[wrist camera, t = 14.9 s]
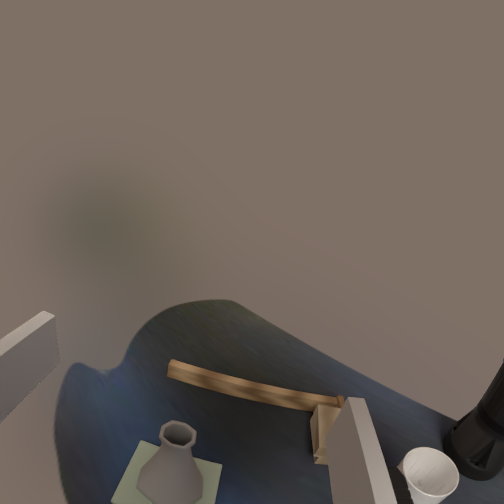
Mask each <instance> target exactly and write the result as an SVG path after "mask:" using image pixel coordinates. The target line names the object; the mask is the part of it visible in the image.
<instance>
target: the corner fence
mask: <svg viewBox="0 0 504 504" xmlns="http://www.w3.org/2000/svg"><path fill="white" fill-rule="evenodd" d="M167 377H170V378H173V379H176V380H179V381H182V382H186V383H189V384H192V385H196V386H199V387H202V388H206V389H210V390H213V391H217V392H221V393H224V394H228V395H232V396H236V397H240V398H245V399H249V400H253V401H258V402H263V403H267V404H272V405H277V406H282V407H288V408H294V409H299V410H305V411H312V412H314V411H315V409H316V407H317V405H318V404H319V405H324V406H330V407H335V408H341V409H342V407H343V405H344V404H345V402H344V398H343V396H339V395H337V397H330V396H323V395H317V394H311V393H305V392H300V391H294V390H289V389H284V388H279V387H274V386H270V385H265V384H261V383H256V382H252V381H248V380H244V379H240V378H236V377H232V376H228V375H224V374H220V373H217V372H213V371H209V370H206V369H202V368H199V367H196V366H192V365H189V364H186V363H183V362H179V361H176V360H173V359H171V361H170V363H169V365H168V373H167Z"/></svg>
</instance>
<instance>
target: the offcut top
mask: <svg viewBox="0 0 504 504" xmlns="http://www.w3.org/2000/svg"><path fill="white" fill-rule="evenodd" d="M340 411H341V408H335V407H330V406H324V405H319V404H318V405H317V407H316V409H315V411H314V413H313V456H316V457H323V458H327V452H326V445H325V437H326V435H327V433H328V432H329V430H330V428H331V427H332V425H333V423H334V421H335V420H336V418H337V416H338V414H339V413H340Z"/></svg>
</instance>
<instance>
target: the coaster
mask: <svg viewBox="0 0 504 504" xmlns="http://www.w3.org/2000/svg"><path fill="white" fill-rule="evenodd" d="M159 448H160V447H159V446H156V445H153V444H150V443H148V442H145V441H142V440H141V441H140V443H139V445H138V447H137V449H136V451H135V453H134V455H133V457H132V459H131V461H130V463H129V465H128V467H127V469H126V471H125V473H124V475H123V477H122V479H121V481H120V483H119V485H118V487H117V489H116V491H115V493H114V495H113V497H112V500H111V503H112V504H153V503H152V502H151V501H150V500H149V499H147V498H146V497H145V496H144V495H143V494H142V493H141V492H140V491H139V490H138V489H137V488H136V486H137V482H138V478H139V474H140V471H141V468H142V467H143V466H144V465H145V464H146V463H147V462H148V461H149V460H150V459H151V458H152V457H153V456H154V454H155V453H156V452H157V451H158V450H159ZM193 458H194V457H193ZM194 461H195V463H196V465H197V467H198V469H199V470H200V472H201V474H202V476H203V490H202V498H201V499H200V500H198V501H197V502H196V503H194V504H215V499H216V494H217V489H218V484H219V479H220V474H221V469H222V464H218V463H213V462H209V461H205V460H202V459H198V458H194Z"/></svg>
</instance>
